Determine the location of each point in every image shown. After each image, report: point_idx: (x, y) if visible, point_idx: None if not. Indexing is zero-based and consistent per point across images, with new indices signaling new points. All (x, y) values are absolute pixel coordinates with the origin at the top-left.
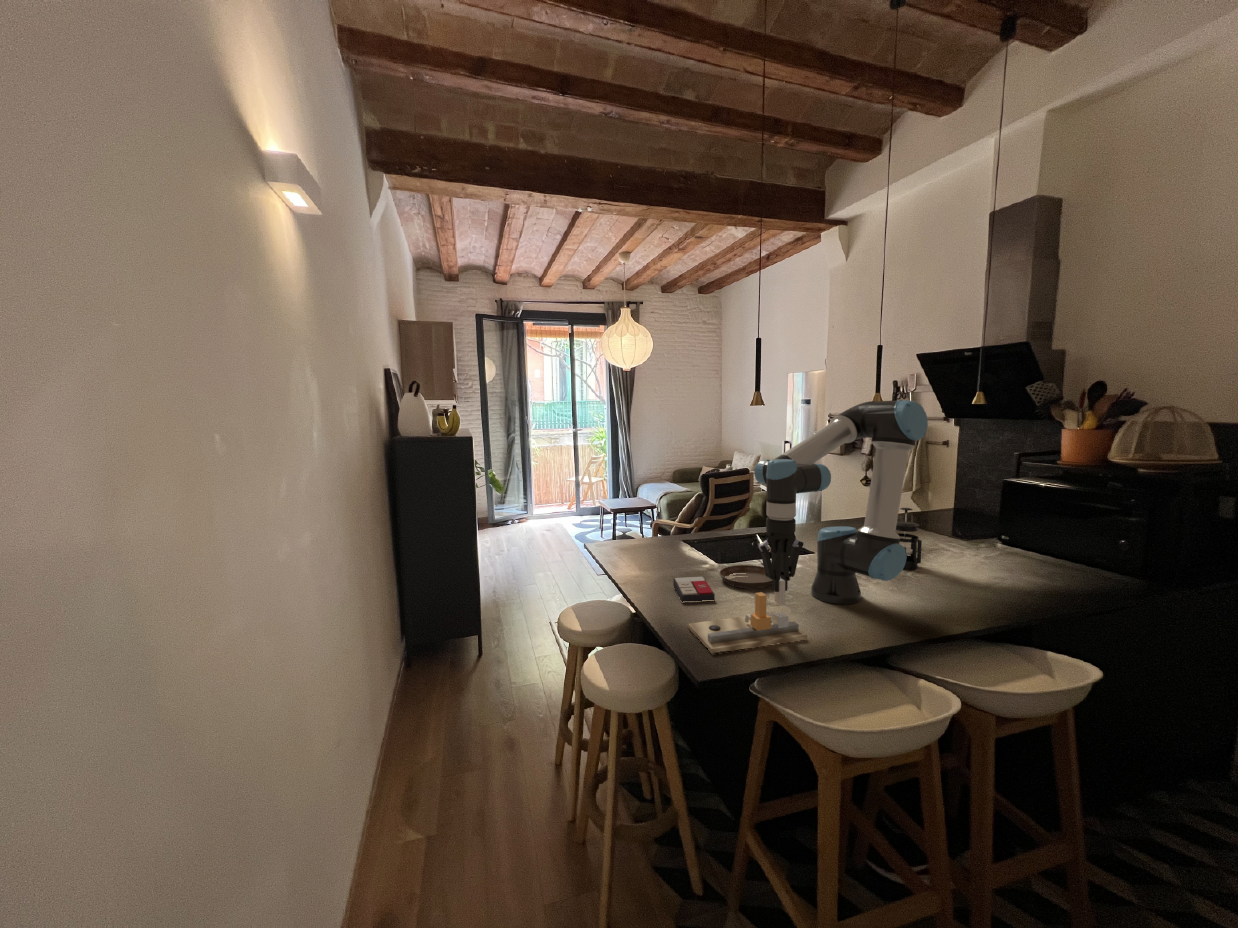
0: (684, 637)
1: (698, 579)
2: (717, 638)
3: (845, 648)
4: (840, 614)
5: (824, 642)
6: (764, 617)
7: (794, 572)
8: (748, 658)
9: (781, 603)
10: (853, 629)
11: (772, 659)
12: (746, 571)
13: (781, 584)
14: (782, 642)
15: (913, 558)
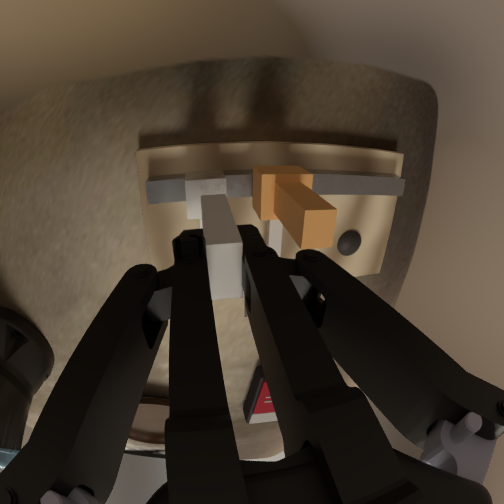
0: (397, 234)
1: (262, 416)
2: (389, 175)
3: (73, 92)
4: (17, 270)
5: (102, 129)
6: (283, 179)
7: (122, 284)
8: (341, 104)
9: (218, 195)
10: (13, 193)
11: (292, 77)
12: (149, 433)
13: (230, 232)
14: (218, 142)
15: None
